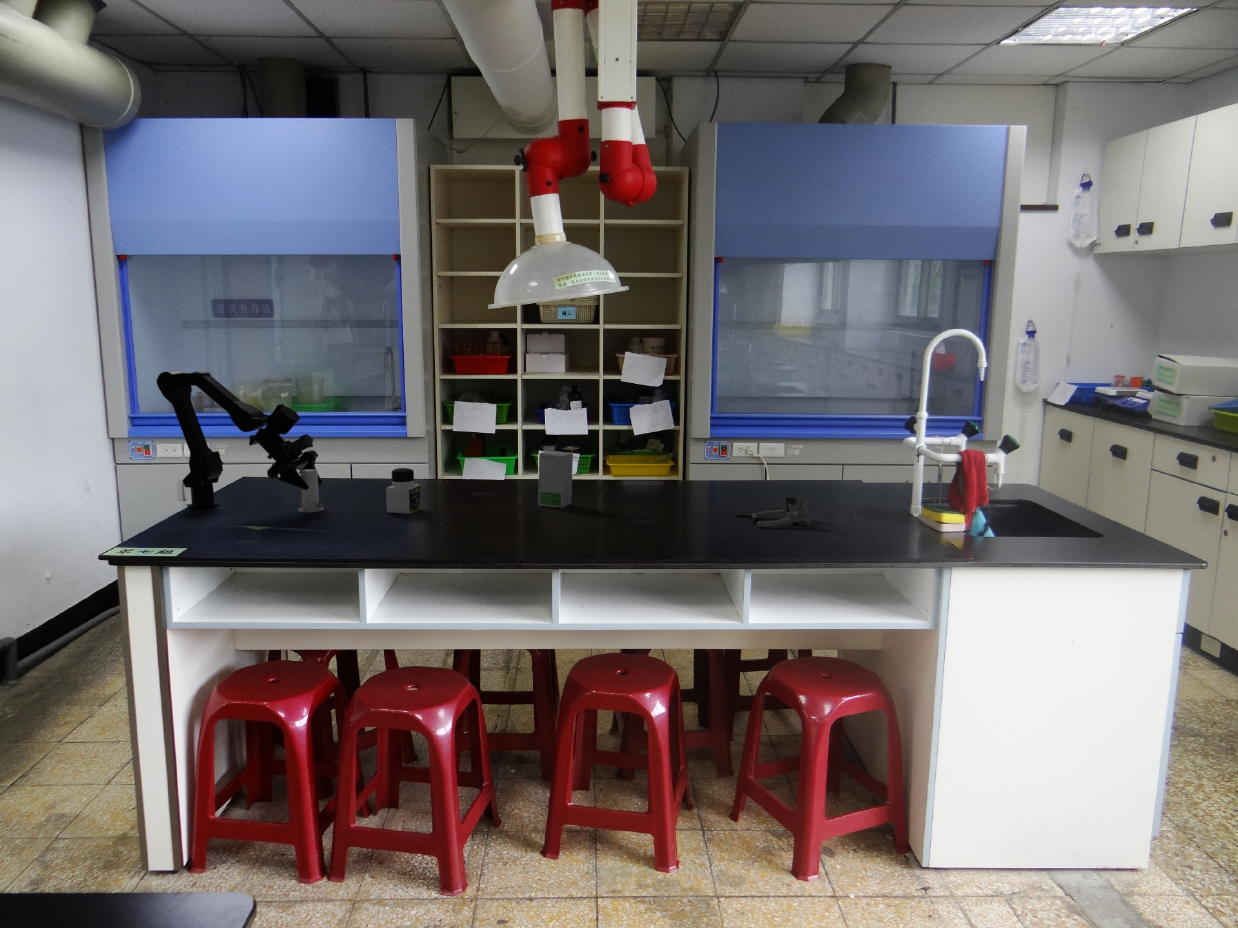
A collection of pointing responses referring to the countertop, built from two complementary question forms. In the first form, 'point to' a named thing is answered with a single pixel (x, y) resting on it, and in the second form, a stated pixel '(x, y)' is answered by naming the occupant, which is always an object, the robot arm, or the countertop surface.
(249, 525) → the mat
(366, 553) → the countertop surface
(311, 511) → the grey shallow disc
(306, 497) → the grey rounded post
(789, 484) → the countertop surface
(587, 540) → the countertop surface
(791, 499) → the bike brake
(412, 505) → the medicine bottle
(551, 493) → the skincare box
